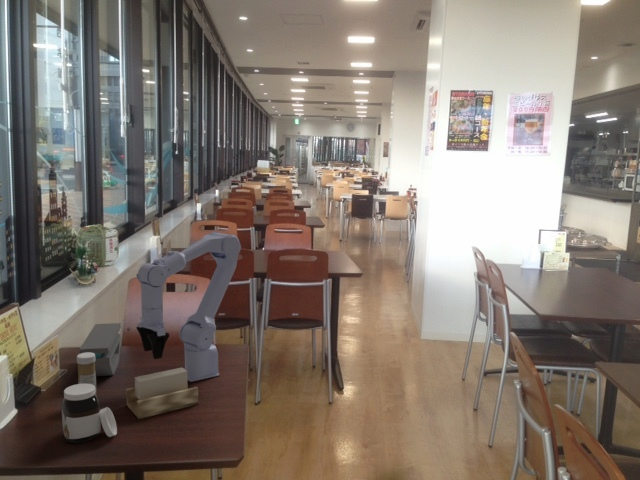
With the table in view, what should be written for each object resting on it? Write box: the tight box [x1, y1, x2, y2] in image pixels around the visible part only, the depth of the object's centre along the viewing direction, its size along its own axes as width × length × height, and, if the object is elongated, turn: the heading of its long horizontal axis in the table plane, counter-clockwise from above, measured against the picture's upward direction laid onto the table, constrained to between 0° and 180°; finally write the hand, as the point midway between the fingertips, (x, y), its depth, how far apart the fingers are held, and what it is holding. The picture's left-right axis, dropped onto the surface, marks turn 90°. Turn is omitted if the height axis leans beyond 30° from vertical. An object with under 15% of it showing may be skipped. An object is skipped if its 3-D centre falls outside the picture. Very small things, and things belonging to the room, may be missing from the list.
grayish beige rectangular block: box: [134, 367, 189, 400], centre depth 155 cm, size 13×4×5 cm, turn 125°
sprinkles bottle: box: [76, 352, 97, 396], centre depth 156 cm, size 5×5×13 cm
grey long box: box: [78, 322, 122, 377], centre depth 180 cm, size 25×8×11 cm, turn 11°
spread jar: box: [61, 383, 118, 444], centre depth 138 cm, size 12×11×12 cm
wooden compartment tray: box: [125, 386, 199, 420], centre depth 156 cm, size 16×10×4 cm, turn 125°
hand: (152, 354), depth 164 cm, fingers open, 7 cm apart
